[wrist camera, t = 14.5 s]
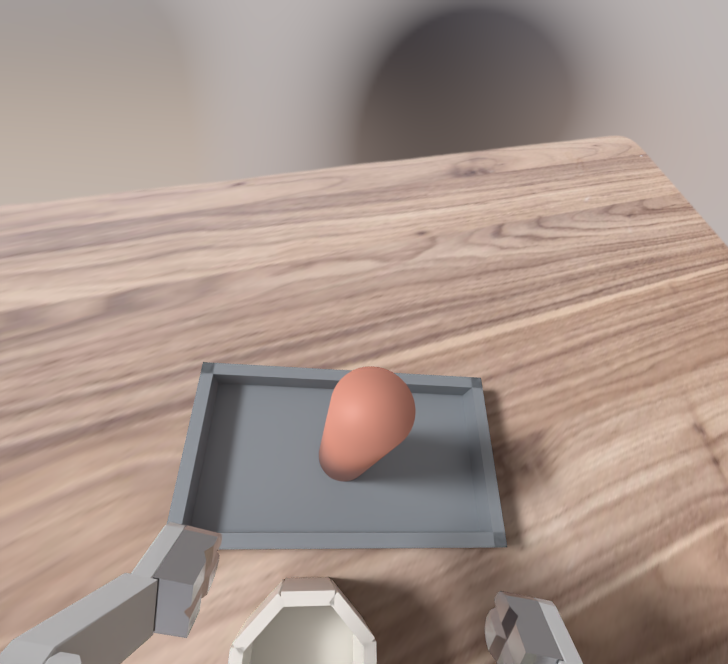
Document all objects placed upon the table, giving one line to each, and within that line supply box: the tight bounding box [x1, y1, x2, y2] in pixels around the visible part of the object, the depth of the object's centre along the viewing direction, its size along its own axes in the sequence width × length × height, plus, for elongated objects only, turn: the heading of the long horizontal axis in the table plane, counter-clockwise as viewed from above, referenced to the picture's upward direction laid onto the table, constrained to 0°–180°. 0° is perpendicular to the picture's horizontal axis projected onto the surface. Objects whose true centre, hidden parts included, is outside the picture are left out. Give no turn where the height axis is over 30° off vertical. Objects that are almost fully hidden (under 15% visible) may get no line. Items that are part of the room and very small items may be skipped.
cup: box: [228, 577, 377, 664], centre depth 18 cm, size 7×7×5 cm
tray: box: [167, 362, 507, 549], centre depth 25 cm, size 20×11×2 cm, turn 90°
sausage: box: [319, 367, 416, 482], centre depth 20 cm, size 4×4×12 cm
